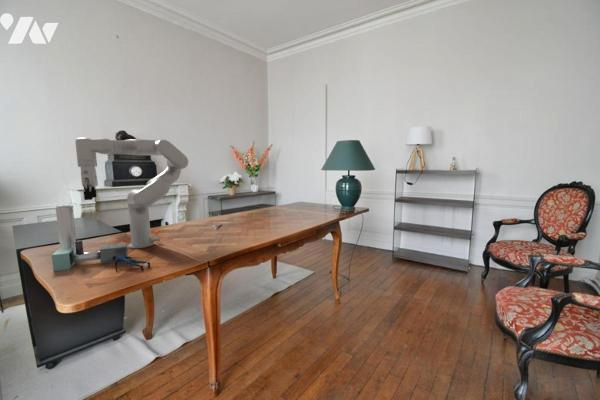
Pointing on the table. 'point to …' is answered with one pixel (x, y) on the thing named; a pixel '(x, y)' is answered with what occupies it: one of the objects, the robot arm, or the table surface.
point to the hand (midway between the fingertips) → (90, 198)
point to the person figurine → (130, 262)
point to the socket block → (62, 259)
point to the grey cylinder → (66, 226)
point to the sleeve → (112, 252)
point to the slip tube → (83, 254)
